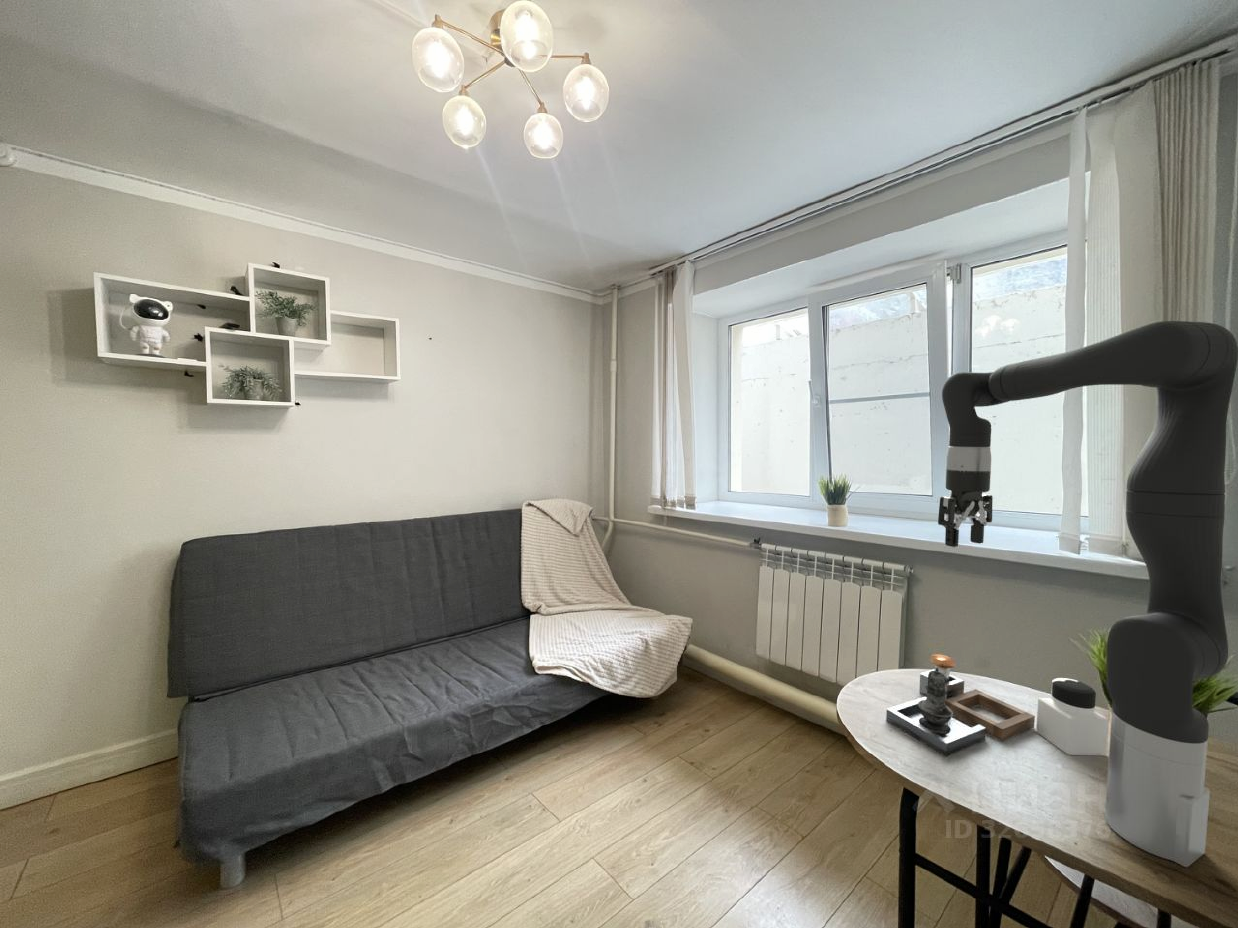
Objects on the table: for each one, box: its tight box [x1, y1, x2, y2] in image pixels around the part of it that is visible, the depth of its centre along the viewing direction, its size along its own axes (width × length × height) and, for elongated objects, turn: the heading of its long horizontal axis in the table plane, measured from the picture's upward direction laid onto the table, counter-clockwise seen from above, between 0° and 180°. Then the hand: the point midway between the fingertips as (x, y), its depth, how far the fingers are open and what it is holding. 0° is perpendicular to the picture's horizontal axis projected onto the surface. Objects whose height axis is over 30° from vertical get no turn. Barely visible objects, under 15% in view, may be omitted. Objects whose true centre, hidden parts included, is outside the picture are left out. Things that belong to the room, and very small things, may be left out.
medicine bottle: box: [1035, 677, 1110, 756], centre depth 91 cm, size 7×7×12 cm
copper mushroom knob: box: [930, 653, 956, 683], centre depth 107 cm, size 4×4×7 cm
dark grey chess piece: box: [918, 667, 953, 734], centre depth 95 cm, size 6×6×12 cm
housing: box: [918, 668, 965, 699], centre depth 107 cm, size 6×6×4 cm
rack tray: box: [885, 696, 987, 757], centre depth 95 cm, size 12×12×2 cm
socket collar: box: [945, 688, 1036, 742], centre depth 99 cm, size 11×11×2 cm
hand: (964, 544), depth 100 cm, fingers open, 8 cm apart
